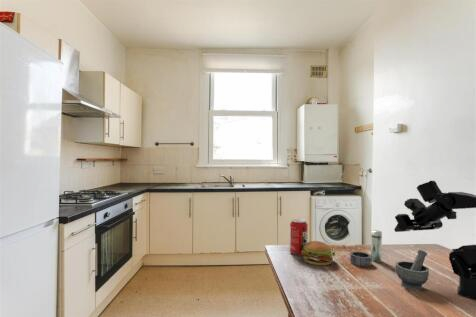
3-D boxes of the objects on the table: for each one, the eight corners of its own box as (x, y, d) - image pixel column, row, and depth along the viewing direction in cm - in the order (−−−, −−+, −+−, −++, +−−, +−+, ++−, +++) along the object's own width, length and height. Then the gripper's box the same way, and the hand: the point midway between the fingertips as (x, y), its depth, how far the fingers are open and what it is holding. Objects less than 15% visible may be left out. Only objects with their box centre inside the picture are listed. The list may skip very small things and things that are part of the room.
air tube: (380, 262, 115) (380, 233, 115) (369, 260, 118) (370, 231, 118) (382, 260, 118) (382, 231, 118) (372, 258, 121) (372, 229, 121)
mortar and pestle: (414, 295, 87) (414, 257, 87) (388, 282, 96) (389, 248, 96) (438, 290, 91) (439, 254, 91) (411, 278, 100) (412, 245, 100)
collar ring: (368, 268, 109) (368, 259, 109) (347, 263, 114) (347, 254, 114) (373, 262, 115) (373, 254, 115) (353, 258, 120) (353, 250, 120)
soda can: (286, 251, 128) (287, 218, 128) (301, 249, 130) (302, 218, 130) (294, 256, 120) (295, 222, 120) (310, 255, 123) (311, 221, 123)
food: (331, 270, 106) (332, 249, 106) (296, 262, 114) (297, 243, 114) (339, 259, 118) (339, 241, 118) (307, 253, 125) (307, 236, 125)
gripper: (439, 193, 108) (411, 211, 120) (402, 194, 103) (376, 213, 115) (457, 219, 102) (425, 235, 114) (418, 222, 97) (389, 238, 109)
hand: (403, 230), depth 113 cm, fingers open, 9 cm apart
